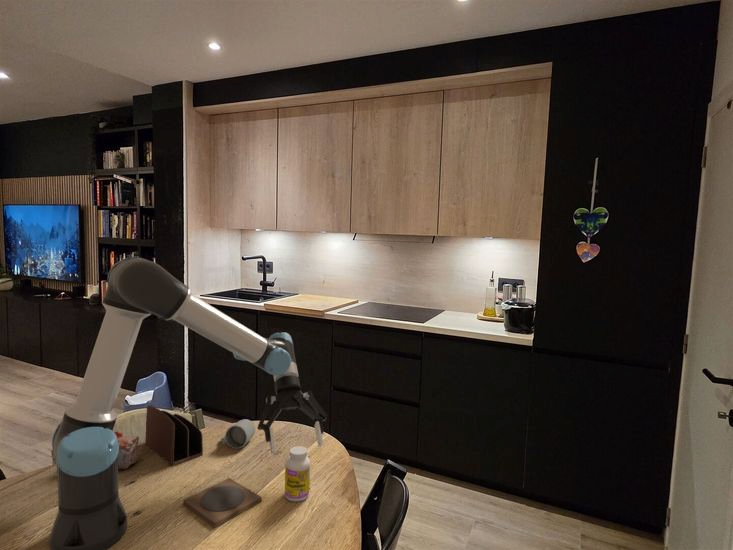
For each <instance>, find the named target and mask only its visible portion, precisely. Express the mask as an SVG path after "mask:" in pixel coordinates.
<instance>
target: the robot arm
mask: <svg viewBox="0 0 733 550" xmlns="http://www.w3.org/2000/svg"><path fill="white" fill-rule="evenodd" d="M106 280H107V282H106V283H107V288H106V289H105V293H104V296H103V299H102V303H101V304H102V306H103V307H104V309H105V315H104V317H103V320H102V322H101V326H100V329H99V331H98V336H97V338H96V341H95V344H94V347H93V350H92V353H91V355H90V358H89V362H88V365H87V368H86V370H85V374H84V377H83V379H82V382H81V385H80V388H79V392H78V394H77V397H76V400H75V403H74V404H72V405H70V406H68V407H67V408H66V409H65V411H64V414H63V417H62V420H61V422H59V423H58V425H57V427H56V428H55V430H54V432H53V436H52V440H51V446H52V450H53V454H54V460H55V467H56V473H57V476H56V477H57V501H58V502H57V504H58V505H57V506H58V508H57V509H58V511H57V514H56V517H55V520H54V521H53V522H54V523H53V526H52V528H51V531H50V534H49V543H48V544H49V550H107V549H109V548H110V547H112V546H113V545H115V544H116V543H118V542H119V541H120V540H121V539H122V537H123V536H124V535H125V533H126V532H127V531H128V530H127V529H128V515H127V512H126V510H125V508H124V506H123V503H122V500H121V498H120V496H119V469H118V452H119V444H118V440H117V436H116V434H115V433H114V432H115V431H114V428H115V426H116V422H117V419H118V414H117V413H116V411H115V410H114V407H115V404H116V401H117V398H118V395H119V392H120V389H121V386H122V384H123V380H124V376H125V374H126V372H127V368H128V366H129V362H130V359H131V357H132V353H133V349H134V346H135V345H136V341H137V337H138V334H139V331H140V328H141V325H142V323H143V320H144V319H146V318H147V317H149V316H151V315H155V316H157V317H159V318H161V319H163V320H165V321H169V320H173V321H176V322H177V323H179V324H181V325H182V326H184V327H186V328H188V329H190V330H192V331H194V332H195V333H197V334H199V336H202V337H204V338H206V339H208V340H210V341H211V342H212V343H213V342H214V343H215V344H217V345H218V346H221V348H224V349H226V350H228V351H229V352H231V353H232V355H233V358H234V359H236V360H239V361H243V362H247V361H248V362H249V363H251V364H252V365H255V366H256V367H258V368H259V369H262V370H263V371H264V372H266V373H268V374H269V375H272V376H273V380H274V389H275V396H274V395H273V396H272V395H270V394H267V395H266V398H265V407H264V408H263V412H262V414H261V417H260V420H259V423H258V424H257V430H259V431H261V430H262V431H263V432H264V437H265V442H266V443H269V447H270V448H269V449H270V455H274V454H275V453H276V445H275V444H276V443H275V438H274V437H275V435H274V428H273V427H272V425H273V424H274V422H275V420H276V419H277V418H278V416H279V415H280V413H281V412H282V411H283V410H284V411H290V410H296V409H298V410H300V411H302V412H303V413H304V414H305V415H306V416H307V417H308V418H310V419H311V420H312V421H313V422H314V423H315V424H314V431H315V435H316V436H315V437H316V441H317V442H316V443H317V445H318V447H317V448H320V447H322V446H323V444H324V440H323V434H324V431H325V430H324V425H323V422H326V420H327V418H328V414H327V413H326V411H325V410H324V408H322V406H321V405H320V404H319V402H318V401H317V399H316V398H315V397H314V394H313V392H312V390H308V391H307V392H304V393H303V392H302V387H301V383H300V378H299V371H298V365H297V359H296V355H295V347H294V342H293V339H292V336H291V335H290V334H289V333H288V332H283V331H282V332H275V333H273V334H271V335H270V336H269V338H267V337H263V336H261V335H260V334H258V333H256V332H255V331H254V330H252V329H250V327H249V328H248V327H247V326H245V325H244V324H242V323H240V322H239V321H237V320H235V319H234V318H233V317H231V316H229V315H227V314H225V312H222V311H221V310H219V309H217V308H216V307H214V306H212V304H209V303H208V302H206V301H204V300H203V299H202V298H199V296H196V295H194V294H193V293H192V292H191V288H190V287H189V286H188V285H186V284H184V282H181V281H180V280H179V279H177V278H176V277H175V276H173V275H172V274H171V273H170V272H169V271H167V270H166V269H165V268H163V267H162V266H161V265H160V264H158V263H157V262H156V261H155V262H154V261H151V260H148V259H146V258H143V257H138V256H131V257H127V258H124V259H123V258H122V259H121V260H119V261H117V262H116V263H115V264H114V265H112V267H111V268H110V270H109V271H108V273H107V279H106ZM303 398H304V399H305V401H307V402H308V403H309V405H310V406H311V407H310V406H308V405H307V404H306V402H305V401H304V400H303ZM274 402H276V403H277V405H278V406H277V408H276V409H275V410H274V412H273V414H272V415H271V416H270V418H269V419H268V420H267V422H266V423H265V421H266V418H267V415H268V412H269V410H270V407H271V405H273V404H274Z"/></svg>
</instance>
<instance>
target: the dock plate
mask: <svg viewBox="0 0 733 550" xmlns="http://www.w3.org/2000/svg"><path fill="white" fill-rule="evenodd" d="M262 498H263V497H262V496H261V495H259V494H257V493H255V492H254V491H252V490H251V489H249V488H247V487H246V486H243V485H242V484H240V483H239V482H237V481H235V480H234V479H232V478H231V477H229V478H226V479H224V480H222V481H220V482H218V483H216V484H214V485H212V486H210V487H208V488H205V489H203V490H202V491H200V492H196V493H194V494H193V495H191V496H189V497H187V498H184V499H183V500H182V501H183V502H182V504H183V506H184V507H186V508H188V509H189V510H190V511H191V512H193V513H195V514H196V515H197V516H198V517H200V518H201V519H202V520H204V521H205V522H207V523H208V524H210V525H211V526H212V527H214V528H215V529H216V528H218V527H219V526H220V525H222V524H225V523H226V522H228V521H230V520H232V519H233V518H234V517H237V516H238V515H240V514H242V513H244V512H245V511H247V510H249V509H251V508H253V507H254V506H256V505H257V504H260V503H261V502H262V501H263V500H262Z"/></svg>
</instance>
